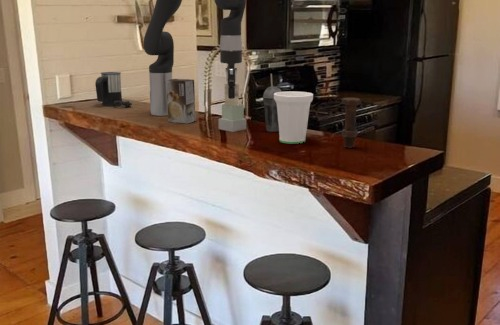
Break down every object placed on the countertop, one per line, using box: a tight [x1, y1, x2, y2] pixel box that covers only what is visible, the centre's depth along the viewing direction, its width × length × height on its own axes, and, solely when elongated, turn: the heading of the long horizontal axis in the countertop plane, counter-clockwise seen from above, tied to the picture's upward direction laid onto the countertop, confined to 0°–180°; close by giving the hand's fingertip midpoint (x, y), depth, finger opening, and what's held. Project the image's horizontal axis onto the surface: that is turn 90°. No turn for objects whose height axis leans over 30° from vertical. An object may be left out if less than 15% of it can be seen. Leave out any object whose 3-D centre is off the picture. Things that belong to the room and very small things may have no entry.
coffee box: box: [166, 78, 196, 125], centre depth 202 cm, size 9×6×16 cm
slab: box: [218, 117, 247, 133], centre depth 190 cm, size 7×7×4 cm
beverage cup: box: [262, 73, 283, 133], centre depth 185 cm, size 7×7×20 cm
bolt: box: [340, 97, 362, 149], centre depth 161 cm, size 6×5×15 cm
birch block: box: [224, 83, 240, 106], centre depth 187 cm, size 5×5×7 cm
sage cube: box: [221, 103, 245, 121], centre depth 189 cm, size 6×6×5 cm
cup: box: [274, 90, 314, 145], centre depth 169 cm, size 12×12×15 cm
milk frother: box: [94, 71, 133, 108], centre depth 239 cm, size 14×16×15 cm
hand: (231, 96), depth 187 cm, fingers open, 6 cm apart
